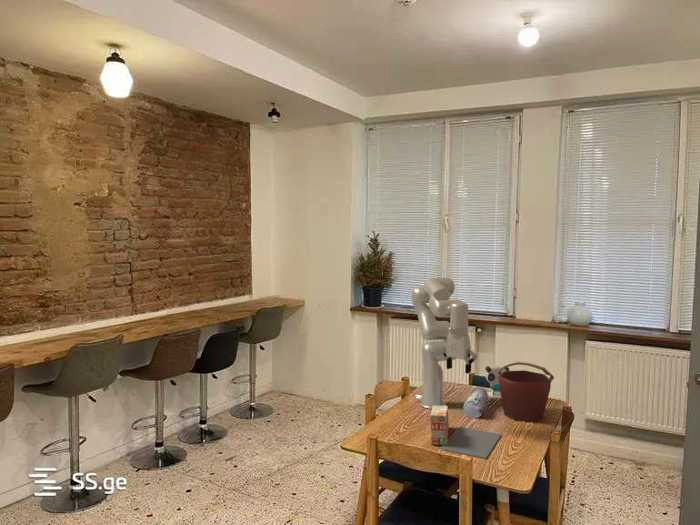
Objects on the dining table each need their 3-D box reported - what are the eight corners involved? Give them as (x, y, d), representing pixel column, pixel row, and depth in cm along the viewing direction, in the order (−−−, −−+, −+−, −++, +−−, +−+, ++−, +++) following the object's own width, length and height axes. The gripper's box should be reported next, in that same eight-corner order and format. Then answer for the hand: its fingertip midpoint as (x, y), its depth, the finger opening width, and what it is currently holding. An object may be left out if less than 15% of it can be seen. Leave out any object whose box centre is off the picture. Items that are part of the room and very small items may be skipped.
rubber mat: (440, 449, 205) (440, 448, 205) (459, 427, 228) (459, 426, 228) (485, 459, 196) (485, 457, 196) (501, 435, 219) (501, 434, 219)
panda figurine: (488, 398, 268) (489, 369, 267) (482, 391, 279) (483, 364, 278) (511, 398, 268) (512, 369, 267) (505, 391, 279) (505, 364, 278)
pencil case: (481, 420, 237) (482, 399, 236) (462, 417, 240) (462, 397, 240) (488, 406, 256) (488, 387, 256) (470, 403, 260) (470, 385, 259)
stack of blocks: (434, 426, 229) (433, 398, 229) (448, 426, 228) (447, 398, 228) (431, 445, 209) (430, 414, 208) (447, 445, 207) (446, 415, 207)
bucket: (559, 417, 241) (560, 363, 240) (538, 429, 225) (539, 373, 224) (510, 404, 258) (511, 354, 257) (487, 415, 243) (488, 362, 241)
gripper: (437, 329, 227) (437, 368, 228) (471, 335, 215) (470, 376, 216) (447, 327, 232) (447, 365, 233) (481, 333, 220) (480, 373, 221)
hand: (458, 370), depth 224 cm, fingers open, 9 cm apart
